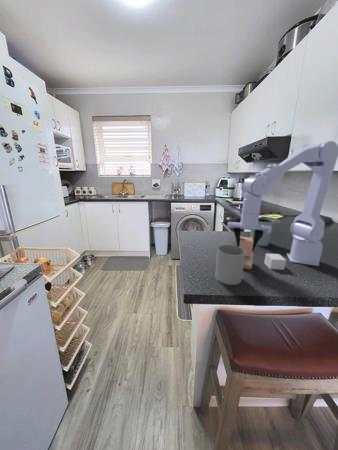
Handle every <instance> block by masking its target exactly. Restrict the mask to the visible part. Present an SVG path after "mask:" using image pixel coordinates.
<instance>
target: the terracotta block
mask: <svg viewBox="0 0 338 450" xmlns="http://www.w3.org/2000/svg"><path fill="white" fill-rule="evenodd" d="M239 247H241V248H242V249H244V250H245V257H251V255H252V254H253V250H252V249H253V238H250V237H249V236H240V241H239Z"/></svg>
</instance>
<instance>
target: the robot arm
mask: <svg viewBox="0 0 338 450" xmlns="http://www.w3.org/2000/svg"><path fill="white" fill-rule="evenodd" d="M337 159H338V145H337V143H336V142H335V141H334V140H333V141H332V140H328V141H326V142H317V143H313V144H311V143H310V144H307V143H306V144H303V146H301V147H299V148H298V149H297V150H296V151H295V152H294V153H292V154H290V155H289V156H288V157H287V158H285V159H284V160H283V161H282V162H280V163H279V164H277V163H273V164H268V165H267V166H266V168H265V169H263V170H262V171H260V172H257V173H255V174H254V176H253V177H247V178H246V179H245V180H244V182H243V184H242V185H240V186H241V191H242V193H243V196H242V197H243V200H242V206H241V217H240V222H238V221H236V222H235V221H234V222H233V221H228V222H227V227H226V229H233V234H234V236H235V240H236V246H238V247H239V241H240V237H241V233H242V230H247V231H251V230H253V231H254V237H253V249H252V252H253V251H255V249H256V247H257V245H256V244H257V243H258V241H259V240H260V238H261V237H262V236H263V232H267V233H271V234H272V231H271V226H265V225H259V224H258V219H259V218H260V212H261V204H262V199H263V195H265V194H266V193H267V191H268V189H269V188H270V187H271V186H272V185H274V184H275V183H277V182H279V181H280V180H282V179H284V176H285V174H286V172H288V171H290V170H292V169H293V168H296V167H297V166H299V165H301V164H303V165H305V167H308V168H309V169H311V171H312V172H313V174H312V177H311V180H310V184H309V186H308V187H309V188H308V192H307V194H306V198H305V202H304V204H303V209H302V212H301V214H299V215H297V216H295V217H294V221H293V222H292V224H291V225H290V233H291V234H292V238H293V239H292V244H291V248H290V252H289V253H286V256H287V258H288V259H289V261H290V262H291V263H295V264H296V263H297V264H303V265H310V266H316V267H320V261H321V257H322V253H323V247H324V245H323V243H322V241H321V240H322V238H324V235H325V224H326V223H325V221H323V219H322V218H321V217H320V215H321V211H322V208H323V205H324V201H325V200H326V196H327V193H328V189H329V185H330V183H331V179H332V176H333V173H334V170H335V166H336V162H337Z"/></svg>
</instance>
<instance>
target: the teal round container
mask: <svg viewBox="0 0 338 450" xmlns="http://www.w3.org/2000/svg"><path fill="white" fill-rule="evenodd" d="M274 222H275V221H274V220H273V219H271V218H265V217H259V219H258V224H259V225H265V226H271V233H267V232H263V236H262V237H261V238H260V240H259V241H258V243H257V244H256V246H257V247H268V246H269V243H270V240H271V239H270V238H271V235H272V231H273V226H274ZM249 231H250V232H249V233H250V235H249V238H253V237H254V231H253V230H249Z"/></svg>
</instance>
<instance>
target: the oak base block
mask: <svg viewBox="0 0 338 450" xmlns="http://www.w3.org/2000/svg"><path fill="white" fill-rule="evenodd" d="M253 262H254V253H252V255H251V257H245V259H244V266H243V269H246V270H252V269H253Z"/></svg>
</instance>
